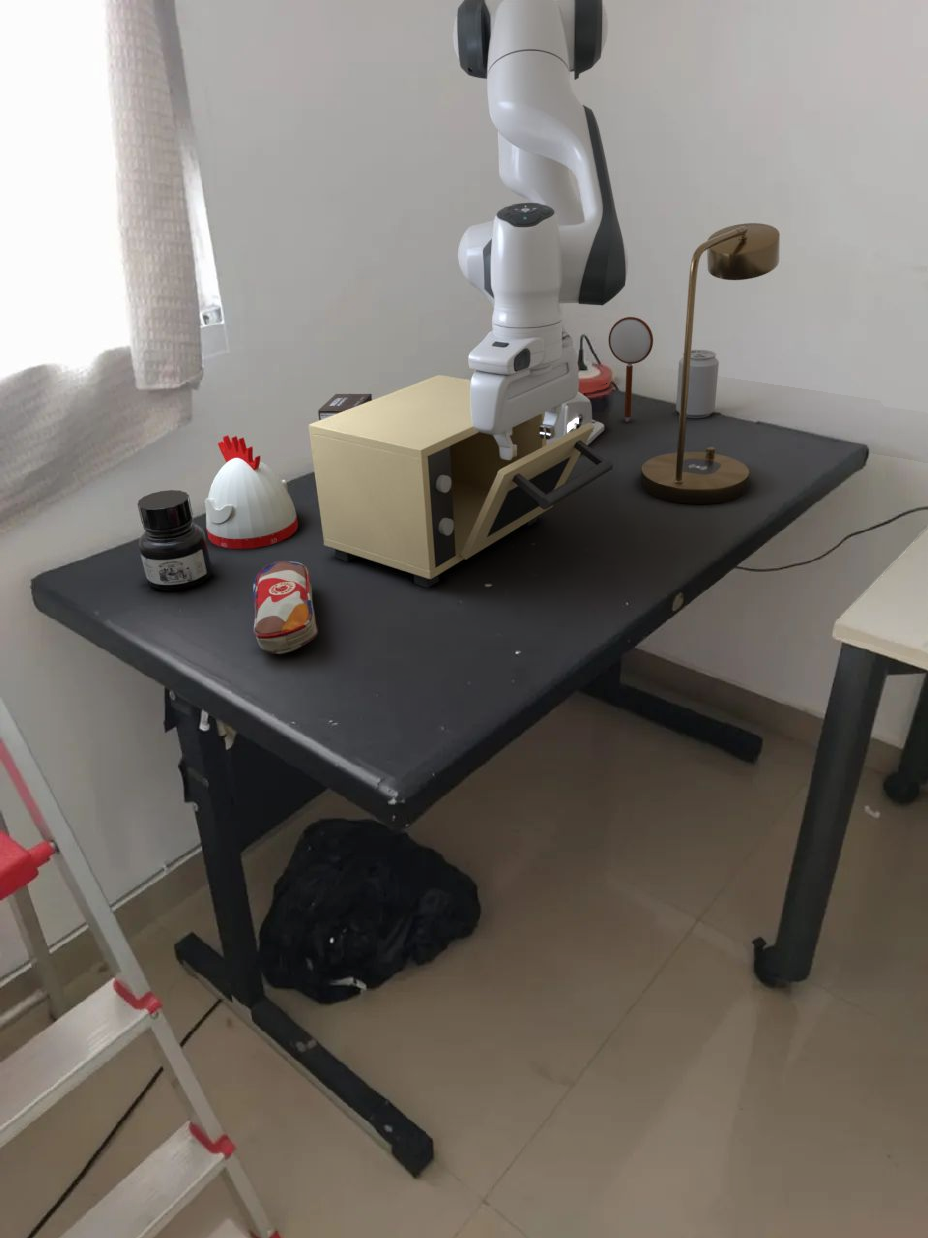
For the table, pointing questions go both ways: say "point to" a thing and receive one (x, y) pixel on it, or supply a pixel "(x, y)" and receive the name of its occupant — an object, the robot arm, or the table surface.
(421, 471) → the oven
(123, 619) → the table surface
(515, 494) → the oven door
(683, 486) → the lamp
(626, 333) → the magnifying glass
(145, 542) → the ink bottle
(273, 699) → the table surface
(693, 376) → the can
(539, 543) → the table surface
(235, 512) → the kitchen timer
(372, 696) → the table surface
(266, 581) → the pencil case
